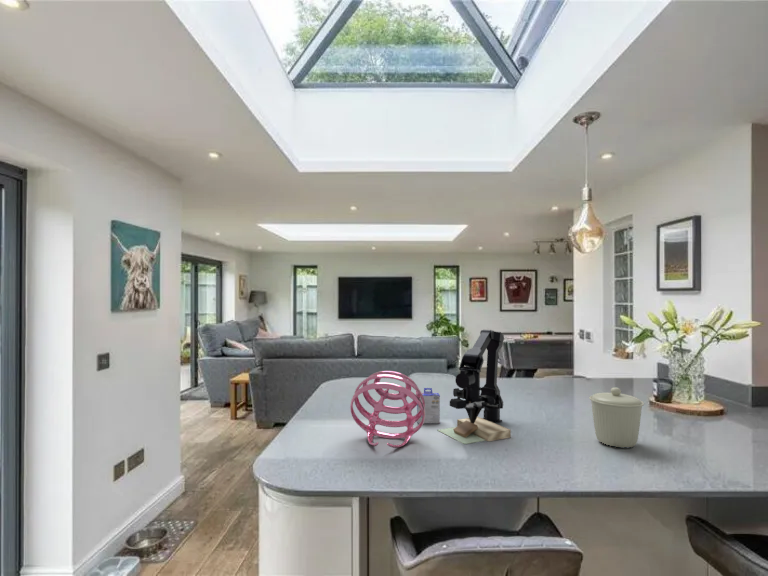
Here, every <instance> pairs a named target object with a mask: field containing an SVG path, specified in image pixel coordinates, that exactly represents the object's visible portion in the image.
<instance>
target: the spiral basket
mask: <svg viewBox="0 0 768 576" xmlns="http://www.w3.org/2000/svg"><path fill="white" fill-rule="evenodd" d="M381 379H391V380H395V381H396V380H397V381H400V382H402V383H404V384H405V387H404V386H402V385H399V384H396V383H393V382H392V383H391V382H384V381H383V382H381ZM372 380H374V381H373V383H369V382H370V381H372ZM412 388H413V390H415V393H414V392H413V391H412ZM384 389H385V390H384ZM371 390H374V391H375V392H376V394H378V395H379V396H380V399H379V400H378V401H376V400H375V399H374V398H373V397H372V396H371V394H370V392H369V391H371ZM390 390H391V391H395V392H397V393H390V392H389V391H390ZM422 393H423V392H422V391H421V389H419V386H418V384H416V382H415V381H414V380H413V379H412V378H411V377H409V376H408V375H406V374H404V373H402V372H399V371H394V370H380V371H376V372H374V373H372V374H370V375H369V376H367V377H366V378H365V379H363V380H362V381H360V383H359V384H358V385H357V387H356V388H355V391H354V394H353V395H352V398H351V400H350V407H349V409H350V414H351V417H352V419H353V420H354V422H355V423H356V424H357V426H359V428H361V429H362V430H364V431H365V433H366V434H367V437H366V438H367V442H368V444H369V445H370V446H372V447H377V446H378V445H379V442H374V437H377V438H378V437H379V438H381V439H382V438H383V439H388V440H391V439H392V440H393V439H394V440H397V439H404V440H403V442H402V443H400V444H397V445H396V444H392V443H388V442H387V443H386V445H387V446H388V447H390V448H392V449H399V448H403V447H404V446H406V444H408V443H409V441H410V440H411V438H412V436H413V435H414V434H417V432H419V430H421V428H422V426H423V424H425V423H424V420H425V401H424V397H423V395H422ZM361 394H362V395H363V398H364V400H365V401H366V403H368V404H369V405H370V406H371V407H372V408H373V412H372V413H371V412H369V411H368V410H367V409H365V408H364V406H363V404H362V403H361V401H360V398H359V396H360V395H361ZM420 396H421V399H422V402H421V400H420ZM407 397H409V398H410V399H412V401H411V402H408V400H407ZM386 399H387V400H390V401H402V402H403V405H402V406H388V405H384V402H385V400H386ZM417 404H418V406H419V407H420V411H419V412H418V413H417V412H416V414H415V415H413V413H412V411H413V410H414V409H415V408H417ZM354 405H355V407H356V409H357V411H358V412H359V413H360V414H361V415H362V416H363V417H364V418H366V420H368V424H365V423H364V422H363V421H361V420H360V418H359V416H357V414H356V413H355V410H354ZM382 412H383V413H386V414H389V415H390V414H391V415H392V414H393V415H397V414H398V415H399V414H405V415H406V418H405V419H403V420H388V419H383V418H381V417H380V415H379V414H380V413H382ZM421 416H422V421H421V422H420V423H418V425H417V426H415V427H414V425H415V424H416V422H417V420H419V419H420V418H421ZM377 425H379V426H383V427H388V428H402V427H406V430H405V431H403V432H399V433H397V432H395V433H391V432H385V431H381V430H380V431H379V430H377V429H376V426H377Z"/></svg>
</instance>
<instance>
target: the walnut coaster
mask: <svg viewBox="0 0 768 576" xmlns="http://www.w3.org/2000/svg"><path fill="white" fill-rule="evenodd" d="M455 427H456V428H454V429H453V430H454V433H456V434H458V435H460V436H462V437H464V438H465V437H467V436H468V435H470V434H471V433H472V432H474V431H475V430H477V429H478V426H477V425H476V424H474V423H471V422H469V421H467V420H466V421H465V422H463V423H462V424H460V425H459V426H457V425H456V426H455Z"/></svg>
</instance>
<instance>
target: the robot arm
mask: <svg viewBox="0 0 768 576" xmlns="http://www.w3.org/2000/svg"><path fill="white" fill-rule="evenodd" d="M479 333H480V334H479V336H478V337H477V340H476V341H475V342H474V345H473V346H472V347H471V348H469V349H468V350H466V351H465V353H464V354H463V356H462V358H461V362H460V365H459V368H458V369H459V373H458V374H457V375H456V377H455V378H454V379H455V381H454V382H455V384H456V385H457V387H458V388H453V389H452V394H453V395H452V396H454V398H451V399H450V400H449V406H450V407H451V408H454V409H457V410H458V409H459V410H463V409H465V411H466V413H467V416H468V418H469V419H470V422H471V423H474V422H475V420H476V418H477V417H479V414H480V413H481V411H483V417H482V418H483V419H485V420H488V421H490V422H493V423H495V424H496V423H501V422H503V420H502V419H501V413H500V412H501V410H502V409H504V401H503V398H502V396H501V389H500V388H499V387H498V384H497V383H498V365H499V352H500V350H501V349H502V347H503V343H504V342H505V336H504V334H503V333H502V332H501V331H494V330H492V329H481V330H480V332H479ZM486 350H487V353H486V354H487V357H486V373H485V375H486V376H485V377H486V378H485V384H484V386H481V372H482V367H483V365H484V360H485V359H484V356H483V355H484V353H485V352H486ZM482 409H483V410H482Z"/></svg>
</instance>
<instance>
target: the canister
mask: <svg viewBox="0 0 768 576" xmlns="http://www.w3.org/2000/svg"><path fill="white" fill-rule="evenodd" d="M589 400H590V401H591V402H590V403H591V410H592V419H593V426H594V431H595V436H596V439H597V441H599V442H600V443H601V442H602V443H601V444H603V443H604V444H603V445H605V444H606V446H608V445H610V446H609V447H611V446H616V447H631V448H634V447H635V446H636V445H637V443H638V439H639V435H640V434H639V433H640V425H641V416H642V407H643V406H644V405H645V403H644V401H642V400H641V399H640V398H638V397H636V396H633V395H630V394H626V393H622V390H621V388H619V387H611V388H610V392H597V393H594V394H593V395H592V394H591V395H590V396H589ZM616 447H615V448H616Z"/></svg>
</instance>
